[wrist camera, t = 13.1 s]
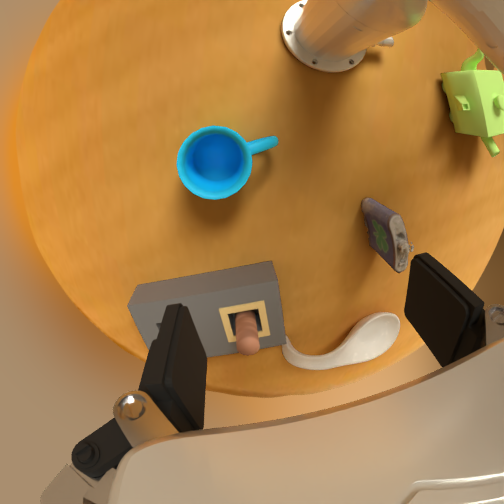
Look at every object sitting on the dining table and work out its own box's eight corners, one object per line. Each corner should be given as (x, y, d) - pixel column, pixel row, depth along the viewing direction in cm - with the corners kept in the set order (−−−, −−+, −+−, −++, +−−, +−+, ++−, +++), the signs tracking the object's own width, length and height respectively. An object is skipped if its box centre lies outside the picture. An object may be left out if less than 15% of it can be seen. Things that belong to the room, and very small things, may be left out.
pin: (251, 295, 44) (257, 337, 34) (254, 310, 45) (261, 353, 36) (232, 298, 43) (234, 341, 34) (236, 313, 45) (239, 356, 36)
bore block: (271, 260, 43) (278, 281, 37) (280, 321, 48) (287, 345, 42) (137, 285, 43) (126, 306, 37) (161, 339, 48) (155, 363, 42)
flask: (358, 199, 40) (394, 222, 30) (374, 193, 40) (413, 214, 30) (369, 250, 44) (402, 282, 34) (384, 244, 44) (418, 274, 34)
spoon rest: (397, 298, 49) (415, 319, 42) (387, 341, 54) (401, 363, 47) (280, 319, 48) (287, 347, 42) (282, 364, 53) (288, 390, 47)
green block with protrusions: (441, 47, 29) (484, 39, 19) (486, 93, 32) (526, 96, 22) (422, 109, 34) (469, 111, 24) (468, 153, 37) (512, 165, 27)
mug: (199, 194, 38) (192, 209, 31) (179, 140, 35) (166, 142, 27) (281, 166, 37) (295, 175, 30) (264, 111, 34) (273, 105, 27)
